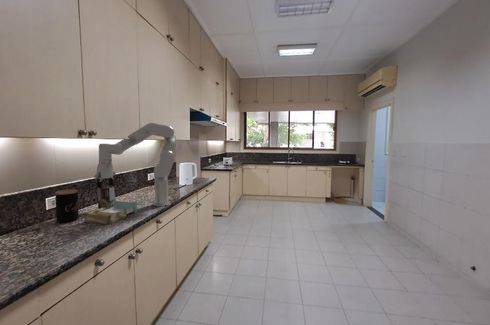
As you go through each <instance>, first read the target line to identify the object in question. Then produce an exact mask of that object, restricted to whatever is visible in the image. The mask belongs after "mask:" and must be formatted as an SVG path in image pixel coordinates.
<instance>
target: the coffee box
mask: <svg viewBox="0 0 490 325" xmlns="http://www.w3.org/2000/svg"><path fill="white" fill-rule="evenodd" d="M96 189H97V191H96V192H97V193H96V194H97V208H98V209H100V208H103V207H106V210H107V209H110V208H113V207H114V201H117V200H116V186H106V185H105V186H103V185H102V188H98V187H97V188H96Z"/></svg>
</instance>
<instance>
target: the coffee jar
mask: <svg viewBox="0 0 490 325" xmlns="http://www.w3.org/2000/svg"><path fill="white" fill-rule="evenodd" d="M54 202H55V214H56V215H55V216H56V219H55V220H56V222H57V223H59V224H69V223H73V222H76V221H78V219H80V216H79V215H80V214H79V213H80V212H79V194H78V189H76V188H75V189H74V188H72V189H71V188H70V189H61V190H56V191H55V201H54Z"/></svg>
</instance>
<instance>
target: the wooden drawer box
mask: <svg viewBox="0 0 490 325" xmlns="http://www.w3.org/2000/svg"><path fill="white" fill-rule="evenodd" d="M104 210H106V207H103V208H100V209H95V210H92V211H88V212H86V213H84V222H85V223H92V224H101V225H107V226H108V225H109V226H110V225H112V224H114V223H116V222H118V221H121V220H123V219H126V218H128V217H127V215H128V214H127V210H126V209H125V210H122V211H119V212H117V213H114V214H112V215H101V211H104Z"/></svg>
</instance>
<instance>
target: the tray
mask: <svg viewBox="0 0 490 325" xmlns="http://www.w3.org/2000/svg"><path fill="white" fill-rule="evenodd" d="M137 206H138V204H137V202H134V201H124V200H116V201H114V207H113V208H110V209H107V210H104V211H101V215H112V214H114V213H117V212H119V211H122V210H125V209H126V210H127V215H128V214H131V213H135V214H136V213H137V212H138V211H137V210H138V207H137Z"/></svg>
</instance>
